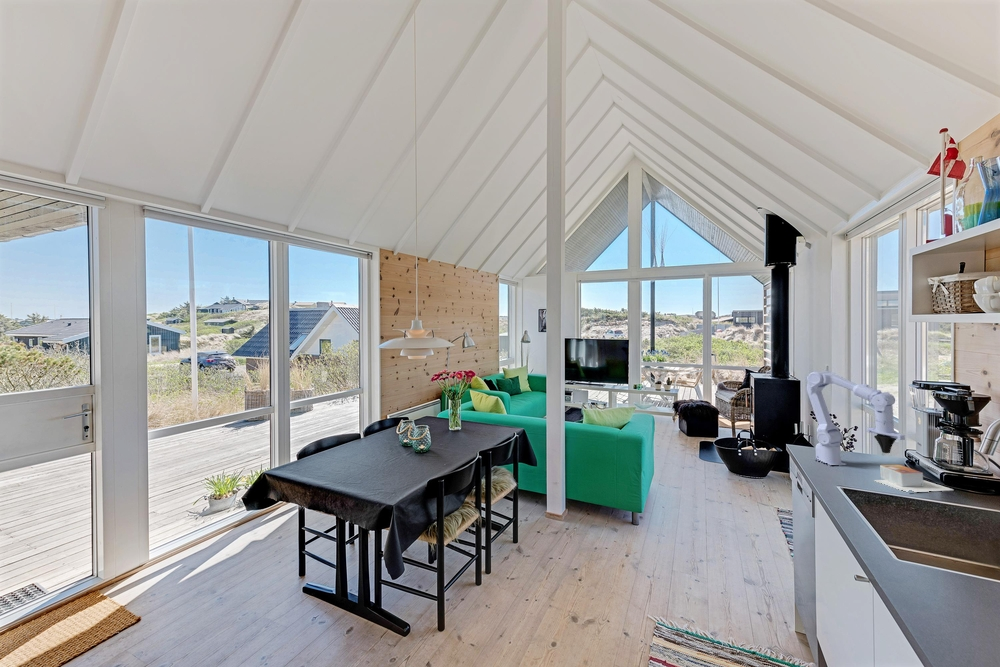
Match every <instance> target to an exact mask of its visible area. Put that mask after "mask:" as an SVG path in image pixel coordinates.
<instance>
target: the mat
mask: <svg viewBox="0 0 1000 667" xmlns="http://www.w3.org/2000/svg"><path fill="white" fill-rule="evenodd" d="M873 481H874V482H875V481H876V482H875V483H878V482H879V483H878V484H881V483H882V484H881V485H884V484H885V485H884V486H886V485H888V486H887V487H889V486H890V487H889V488H892V487H893V488H892V489H895V488H896V490H898V489H899V490H898V491H901V490H903V491H906V492H908V491H909V490H912V491H914V492H928V493H930V492H929V491H942V492H953V491H954V489H953V488H950V487H947V486H943V485H940V484H938V483H937V484H936V483H935V482H930V481H927V480H925V479H923V486H906V487H902V486H899V485H897V484H895V483H892V482H890V481H887V480H885V479H874V480H873ZM903 491H902V492H903ZM906 492H905V493H906Z"/></svg>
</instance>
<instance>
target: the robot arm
mask: <svg viewBox="0 0 1000 667" xmlns="http://www.w3.org/2000/svg"><path fill="white" fill-rule="evenodd" d="M806 381H807V382H806V383H807V384H806V393H807V396H808V398H809V401H810V404H811V406H812V409H813V412H814V415H815V418H816V422H817V424H818V426H817V427H816V440H817V441H818V443H816V445H815V448H814V449H815V459H816V458H817V459H819V460H821V461H823V462H825V463H828V464H830V465H839V466H846V465H847V463H844V462H842V456H841V453H842V452H841V442H842V441H843V440H844V436H843V434H842V433H841V431H840V430H839V428H838V426H837V425H835V424H834V423H833V420H832V418H831V415H830V411H829V410H828V407H827V403H826V401H825V398H824V394H823V393H822V391H823V390H824V389H825V387H827V386H828V385H830V384H835V385H837V386H839V387H843V388H844V389H847V390H850V391H851V392H853V394H854V395H855V396H856V397H860V398H861V399H864V400H866V401H868V402H870V403H871V404H872V406H873V407H874V408H873V409H874V419H875V420H874V423H875V428H874V427H866V432H867V433H871V434H876V435H874V439H875V440H876V441H877V443H878V445H879V447H880V450H881V452H882V453H883V454H890V453H891V450H892V447H893V444H894V443H895V442H896V441H897V440H899V441H903V440H904V441H905V440H906V438H905V437H906V436H905V435H904V434H902V433H899V432H897V431H896V430H895V428H894V427H895V426H894V409H893V406H894V404H895V403H896V398H895V396H894V395H893V394H891V393H890V392H888V391H887V392H886V391H883V392H882V390H881V389H876V388H873V387H870V386H869V384H867V383H864V384H863V383H860V384H856V383H854V382H852V381H851V380H848V379H847V378H844V377H842V376H840V375H838V374H836V373H835V372H831V371H829V370H823V371H812V372H810V373H809V374H808V375H807V377H806Z"/></svg>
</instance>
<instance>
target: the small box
mask: <svg viewBox="0 0 1000 667" xmlns="http://www.w3.org/2000/svg"><path fill="white" fill-rule="evenodd" d="M879 470H880V471H879V472H880V479H881V480H887V481H890V482H892V483H895V484H897V485H899V486H902V487H906V486H923V480H924V473H923V472H922V471H918V470H915V469H913V468H910V467H908V466H905V465H903V464H902V465H901V464H881V465H879Z"/></svg>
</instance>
